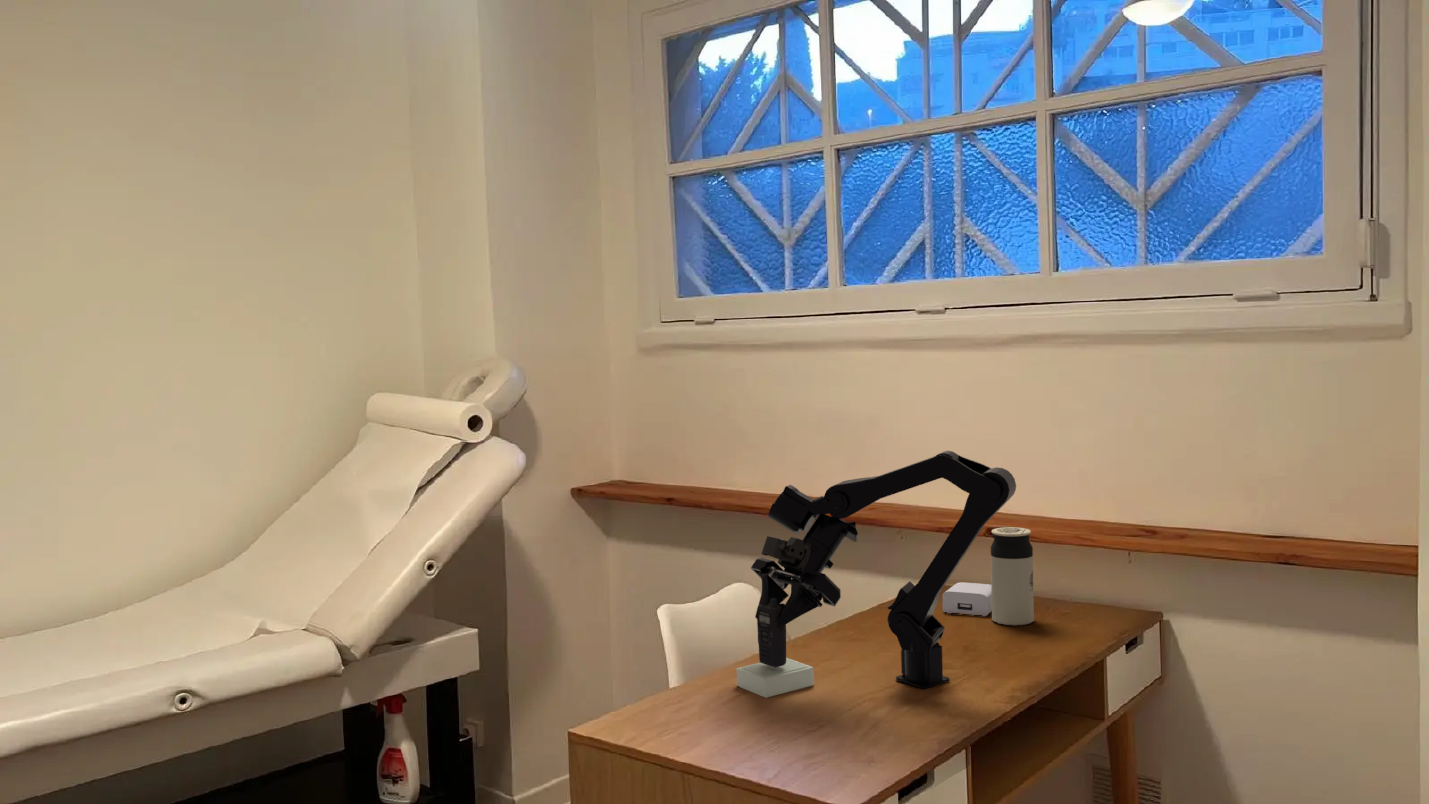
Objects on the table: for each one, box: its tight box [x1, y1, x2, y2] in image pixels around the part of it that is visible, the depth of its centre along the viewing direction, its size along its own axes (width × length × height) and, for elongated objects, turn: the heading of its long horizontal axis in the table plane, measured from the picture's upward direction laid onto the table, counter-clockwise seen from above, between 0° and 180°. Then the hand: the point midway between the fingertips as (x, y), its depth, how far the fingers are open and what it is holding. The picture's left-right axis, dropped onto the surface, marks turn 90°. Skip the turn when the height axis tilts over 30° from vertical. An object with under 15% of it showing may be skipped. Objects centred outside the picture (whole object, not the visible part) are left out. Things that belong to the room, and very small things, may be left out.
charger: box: [941, 581, 992, 617], centre depth 241 cm, size 5×9×15 cm
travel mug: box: [990, 526, 1035, 627], centre depth 227 cm, size 8×8×18 cm
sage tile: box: [735, 657, 815, 698], centre depth 193 cm, size 8×10×3 cm
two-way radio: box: [756, 574, 787, 668], centre depth 192 cm, size 6×4×15 cm
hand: (767, 622), depth 191 cm, fingers closed on two-way radio, 5 cm apart
